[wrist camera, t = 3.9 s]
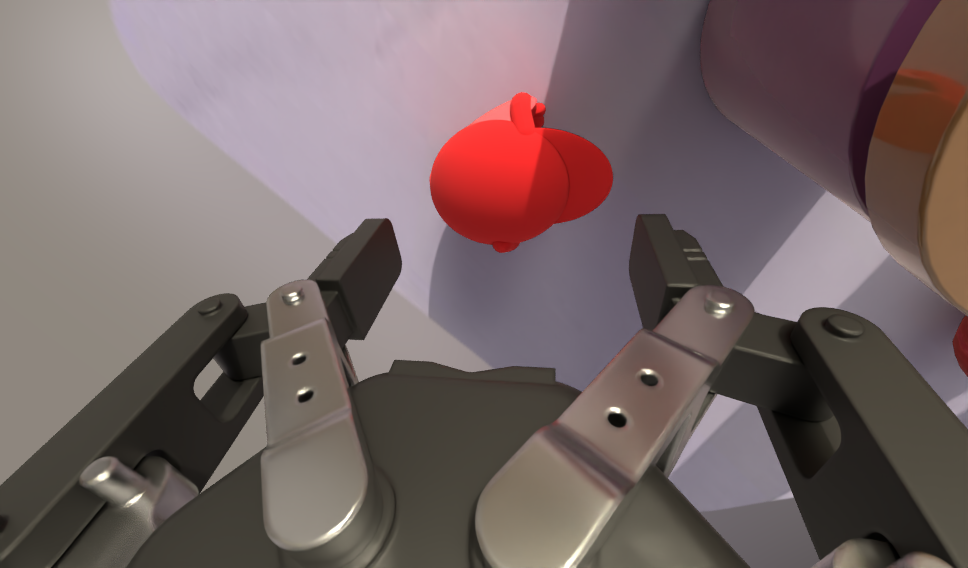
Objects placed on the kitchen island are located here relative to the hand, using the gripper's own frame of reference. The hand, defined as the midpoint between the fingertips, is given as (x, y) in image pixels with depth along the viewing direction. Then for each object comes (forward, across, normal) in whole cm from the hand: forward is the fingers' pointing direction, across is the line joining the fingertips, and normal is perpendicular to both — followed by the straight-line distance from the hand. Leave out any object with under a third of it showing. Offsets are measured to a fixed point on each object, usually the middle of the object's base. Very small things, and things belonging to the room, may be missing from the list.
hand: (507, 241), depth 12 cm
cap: (+8, 0, 0) cm, 9 cm away
